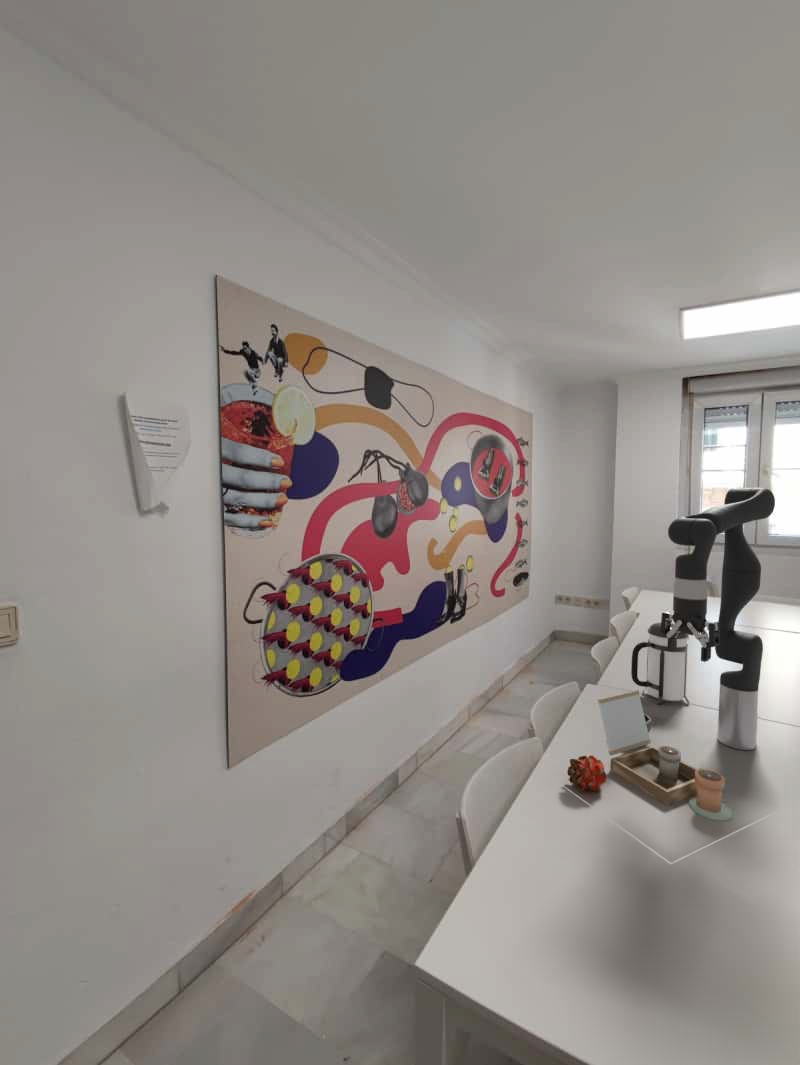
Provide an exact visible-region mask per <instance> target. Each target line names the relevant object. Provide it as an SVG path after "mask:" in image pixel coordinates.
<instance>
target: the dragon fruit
mask: <svg viewBox="0 0 800 1065" xmlns="http://www.w3.org/2000/svg"><path fill="white" fill-rule="evenodd" d="M569 763H570V766H568V767H567V775H568V777H569V779H568V780H569V782H570V783H571V784H574V785H577V786H576V788H577V789H578V790H580V791H583V790H584V791H588V790H590V791H592V792H596V793H599V791H600V786H601V785H603V784H604V783H605V782H606V781H607V773H606V771H605V765H604V763H603V762H602V761H601V759H597V757H596V756H595V755H589V756H587V755H582V756H578V758H570V759H569Z"/></svg>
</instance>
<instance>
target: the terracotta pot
mask: <svg viewBox="0 0 800 1065" xmlns="http://www.w3.org/2000/svg"><path fill="white" fill-rule="evenodd" d="M695 781H696V782H697V794H696V795H695V796H696V804H697V805H698V806H699V807H700V808H702V809H704V810H706V811H709V812H715V813H716V812H720V811H721V802H722V796H723V795H722V794H723V793H722V791H723V790H724V789H725V786H726V778H725V777H724V776H723V775H722V774H721V773H719V772H718V771H716V770H713V769H710V768H704V767H703V768H696V770H695Z"/></svg>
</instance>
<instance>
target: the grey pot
mask: <svg viewBox="0 0 800 1065" xmlns="http://www.w3.org/2000/svg"><path fill="white" fill-rule="evenodd" d="M657 749H658V756H659V757H660V758H659V775H660V776H661V777H663V778H665V779H668V780H677V779H678V774H679V761H682V752H681V751H680V750H679V749H678V748H676V747H673V746H670V745H659V746H658V747H657Z"/></svg>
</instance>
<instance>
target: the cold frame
mask: <svg viewBox="0 0 800 1065" xmlns="http://www.w3.org/2000/svg"><path fill="white" fill-rule="evenodd" d="M659 758H660V757H659V756H658V747H655V746H653V745H650V746H647V747H643V748H641V749H638V750H635V751H632V752H628V753H625V754H621V755H619V756H616V757H613V758H610V767H609V768H610V769H609V770H610V772H611V773H613V774H615V775H617V776H618V777H620V778H621V779H622V780H625V781H626V782H627V783H629V784H631V785H632V786H634V787H636V788H637V789H639V790H641V791H642V792H644V793H646V794H647V795H649V796H650V797H651V798H654V799H655V800H657V801H659V802H660V803H662V804H664V805H665V806H666V807H667V806H670V805H673V804H675V803H677V802H680V801H681V800H684V799H687V798H691V797H693V796H695V795H697V782H696V781H695V770H696V769H697V768H696V767H694V766H692V765H691V764H688V763H686V762H684V761H682V760H681V761H679V774H678V779H677V780H668V779H665V778H663V777H661V776H660V775H659Z"/></svg>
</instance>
